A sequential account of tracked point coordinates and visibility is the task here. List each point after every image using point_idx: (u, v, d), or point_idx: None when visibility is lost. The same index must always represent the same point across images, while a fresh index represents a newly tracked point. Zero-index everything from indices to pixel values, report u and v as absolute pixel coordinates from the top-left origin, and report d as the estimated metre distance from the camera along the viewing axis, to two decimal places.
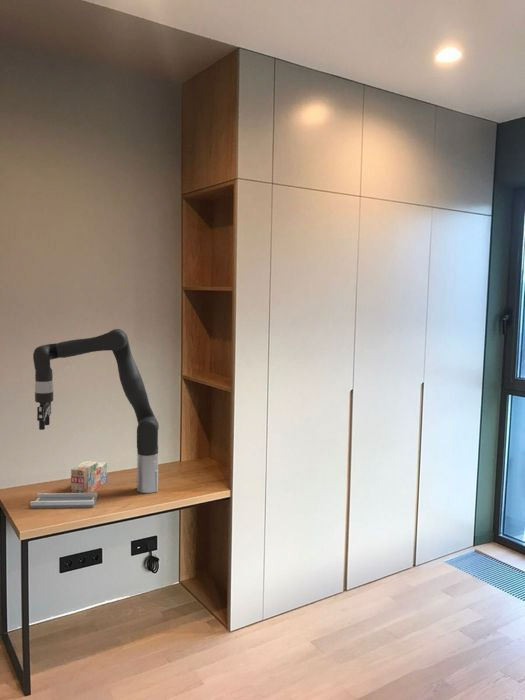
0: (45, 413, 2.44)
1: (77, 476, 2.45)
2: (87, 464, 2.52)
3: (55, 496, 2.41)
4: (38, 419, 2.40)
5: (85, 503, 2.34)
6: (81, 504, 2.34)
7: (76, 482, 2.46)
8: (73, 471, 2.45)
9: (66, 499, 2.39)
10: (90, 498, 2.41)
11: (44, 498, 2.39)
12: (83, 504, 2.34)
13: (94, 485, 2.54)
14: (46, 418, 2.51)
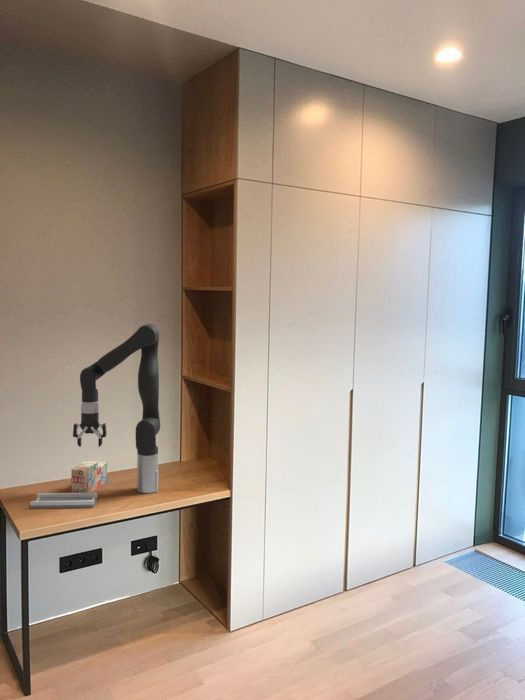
0: (98, 430, 2.55)
1: (78, 476, 2.45)
2: (87, 464, 2.53)
3: (55, 496, 2.41)
4: (105, 435, 2.54)
5: (85, 503, 2.34)
6: (81, 504, 2.34)
7: (76, 481, 2.46)
8: (73, 471, 2.46)
9: (66, 499, 2.39)
10: (90, 498, 2.41)
11: (44, 498, 2.39)
12: (83, 504, 2.34)
13: (94, 485, 2.55)
14: (80, 439, 2.53)
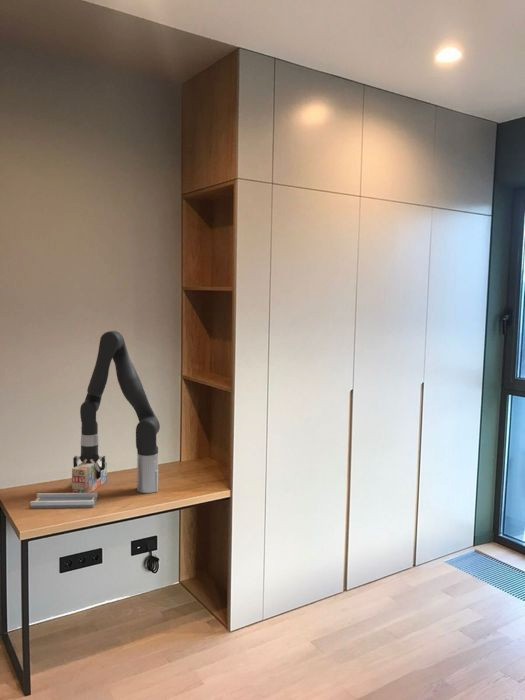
0: None
1: (78, 476, 2.45)
2: (88, 463, 2.53)
3: (55, 496, 2.41)
4: (104, 468, 2.55)
5: (85, 503, 2.34)
6: (81, 504, 2.34)
7: (77, 481, 2.46)
8: (74, 470, 2.46)
9: (66, 499, 2.39)
10: (90, 498, 2.41)
11: (44, 498, 2.39)
12: (83, 504, 2.34)
13: (95, 484, 2.55)
14: None
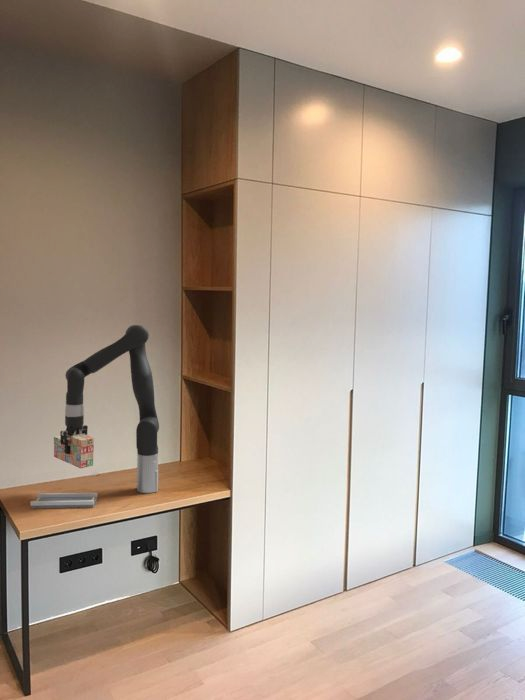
0: None
1: (87, 446, 2.36)
2: (78, 434, 2.41)
3: (55, 496, 2.41)
4: None
5: (85, 503, 2.34)
6: (81, 504, 2.34)
7: (86, 452, 2.36)
8: (83, 441, 2.35)
9: (66, 499, 2.39)
10: (90, 498, 2.41)
11: (44, 498, 2.39)
12: (83, 504, 2.34)
13: None
14: None
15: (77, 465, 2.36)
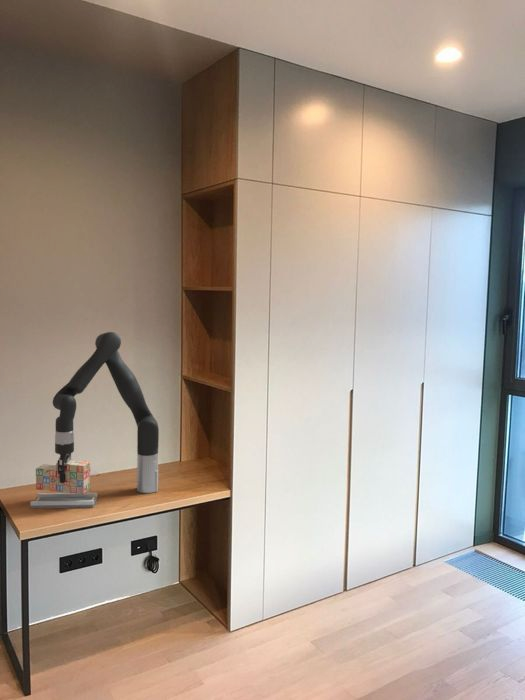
0: None
1: (87, 470, 2.35)
2: (69, 461, 2.36)
3: (55, 496, 2.41)
4: None
5: (85, 503, 2.34)
6: (81, 504, 2.34)
7: (86, 476, 2.35)
8: (84, 467, 2.33)
9: (66, 499, 2.39)
10: (90, 498, 2.41)
11: (44, 498, 2.39)
12: (83, 504, 2.34)
13: None
14: None
15: (78, 492, 2.33)
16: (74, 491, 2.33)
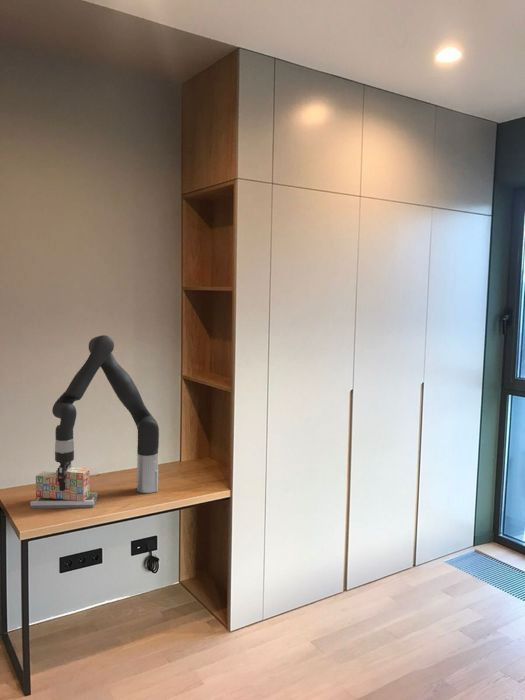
0: None
1: (87, 477, 2.35)
2: (69, 468, 2.36)
3: None
4: None
5: (85, 503, 2.34)
6: (81, 504, 2.34)
7: (86, 484, 2.35)
8: (84, 474, 2.33)
9: None
10: (90, 498, 2.41)
11: (44, 498, 2.39)
12: (83, 504, 2.34)
13: None
14: None
15: (78, 499, 2.33)
16: (74, 498, 2.34)
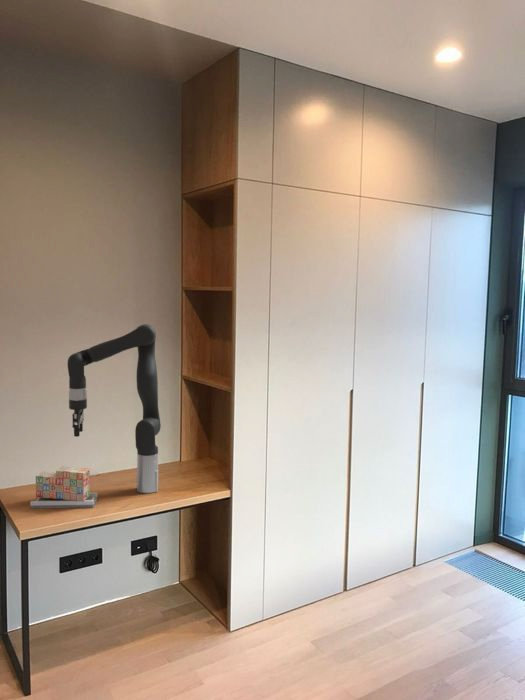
0: None
1: (87, 477, 2.35)
2: (69, 468, 2.36)
3: None
4: None
5: (85, 503, 2.34)
6: (81, 504, 2.34)
7: (86, 484, 2.35)
8: (84, 474, 2.33)
9: None
10: (90, 498, 2.41)
11: (44, 498, 2.39)
12: (83, 504, 2.34)
13: None
14: None
15: (78, 499, 2.33)
16: (74, 498, 2.34)
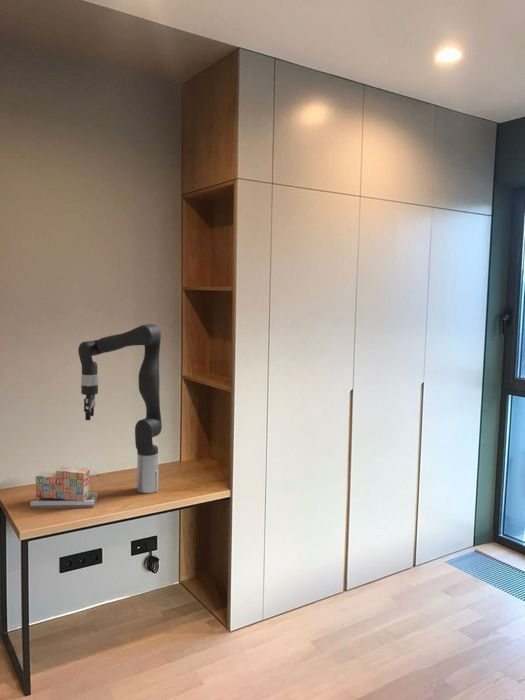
0: None
1: (87, 477, 2.35)
2: (69, 468, 2.36)
3: None
4: None
5: (85, 503, 2.34)
6: (81, 504, 2.34)
7: (86, 484, 2.35)
8: (84, 474, 2.33)
9: None
10: (90, 498, 2.41)
11: (44, 498, 2.39)
12: (83, 504, 2.34)
13: None
14: None
15: (78, 499, 2.33)
16: (74, 498, 2.34)
